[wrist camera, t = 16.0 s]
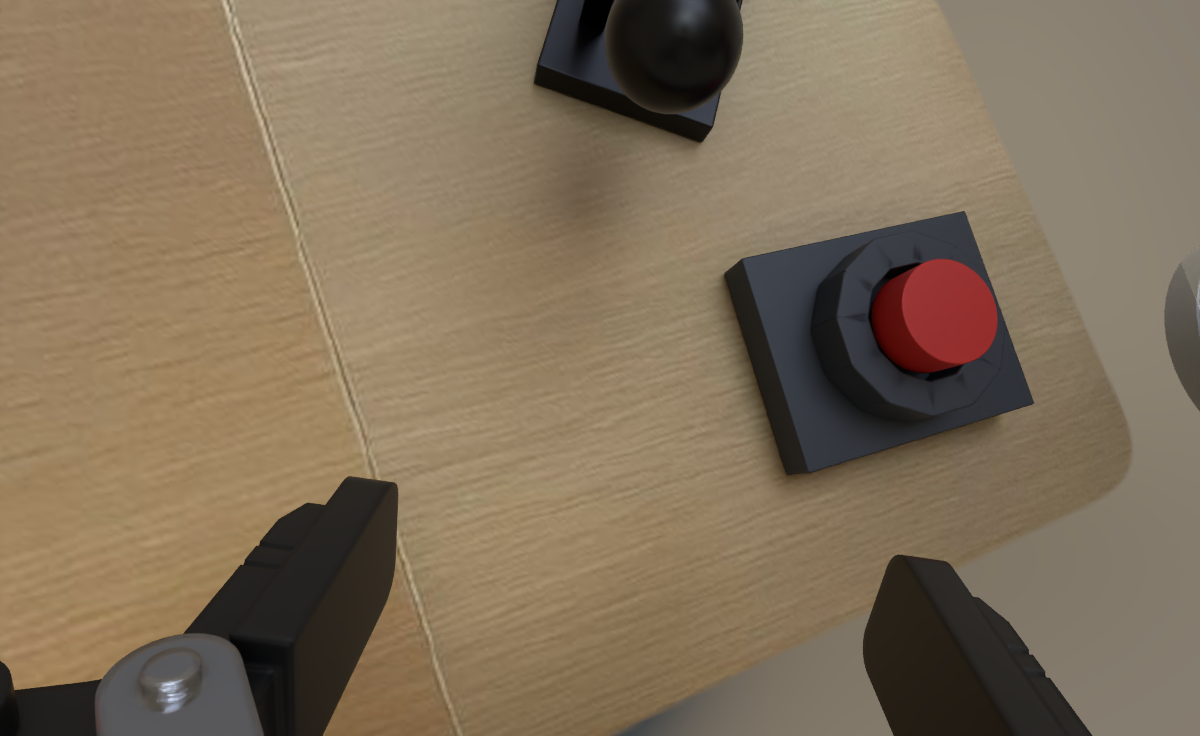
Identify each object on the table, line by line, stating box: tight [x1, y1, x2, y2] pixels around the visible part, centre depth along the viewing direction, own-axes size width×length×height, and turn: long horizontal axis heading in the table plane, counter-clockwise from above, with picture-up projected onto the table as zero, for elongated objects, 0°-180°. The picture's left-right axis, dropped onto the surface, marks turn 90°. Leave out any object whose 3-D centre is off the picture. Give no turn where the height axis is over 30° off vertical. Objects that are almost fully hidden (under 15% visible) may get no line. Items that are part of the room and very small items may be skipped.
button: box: [871, 259, 998, 373], centre depth 24 cm, size 4×4×2 cm
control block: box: [725, 211, 1034, 475], centre depth 26 cm, size 10×8×4 cm
